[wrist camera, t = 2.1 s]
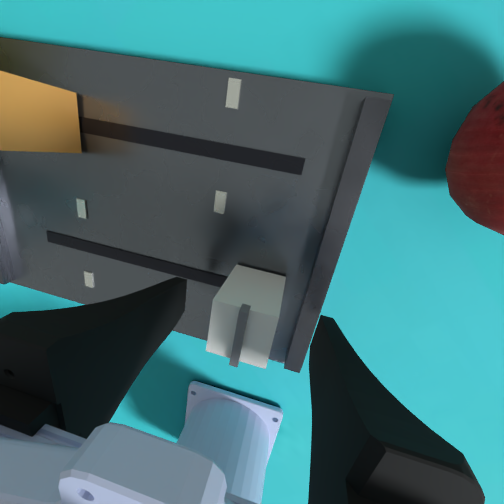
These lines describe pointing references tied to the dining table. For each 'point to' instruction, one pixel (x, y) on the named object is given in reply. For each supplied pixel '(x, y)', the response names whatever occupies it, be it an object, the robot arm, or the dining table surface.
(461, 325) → the dining table surface
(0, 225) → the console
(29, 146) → the fader
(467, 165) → the onion
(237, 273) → the fader
